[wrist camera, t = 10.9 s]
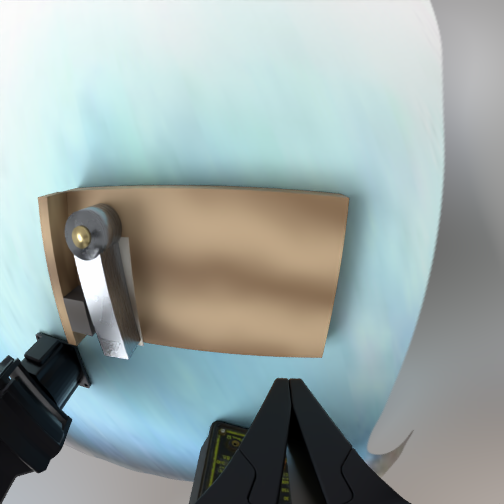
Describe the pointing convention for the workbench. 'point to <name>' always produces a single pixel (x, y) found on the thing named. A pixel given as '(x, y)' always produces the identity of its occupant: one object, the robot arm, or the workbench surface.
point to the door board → (211, 265)
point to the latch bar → (103, 277)
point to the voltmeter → (225, 460)
